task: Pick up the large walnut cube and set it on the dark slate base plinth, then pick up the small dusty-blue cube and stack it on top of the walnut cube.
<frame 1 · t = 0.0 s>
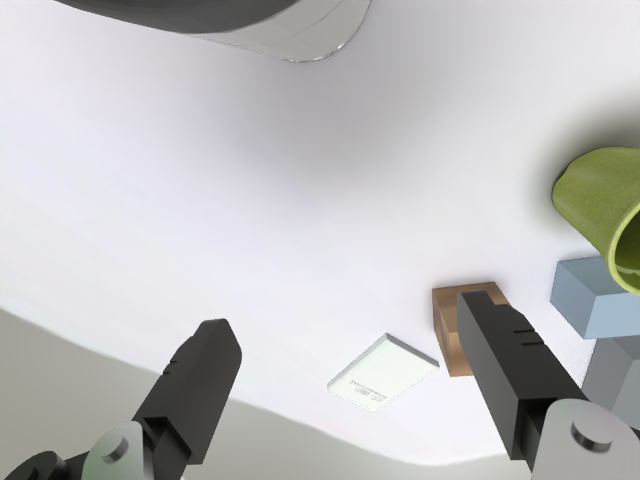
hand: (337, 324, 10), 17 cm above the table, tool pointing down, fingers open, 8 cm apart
external hard drive: (379, 368, 38), on the table
blue cube: (581, 278, 28), on the table
plant pot: (591, 182, 24), on the table
walnut cube: (462, 306, 31), on the table
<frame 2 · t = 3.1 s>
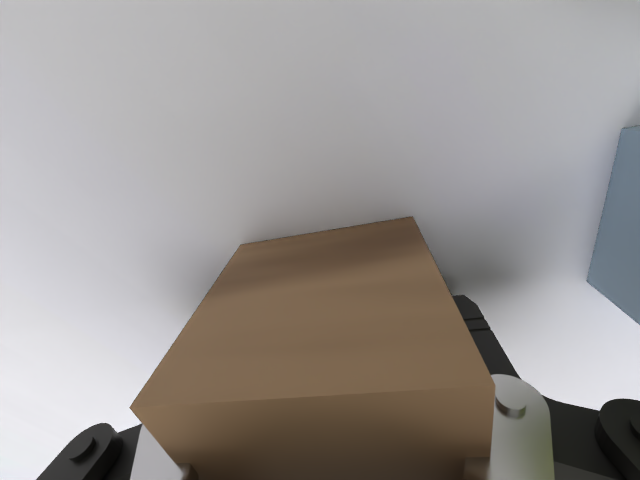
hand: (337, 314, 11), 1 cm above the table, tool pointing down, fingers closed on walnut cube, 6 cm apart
walnut cube: (338, 300, 11), on the table, touching gripper
when the fingers open (6 cm above the table, at t = 9.2 s): walnut cube drops 1 cm, resting on base plinth.
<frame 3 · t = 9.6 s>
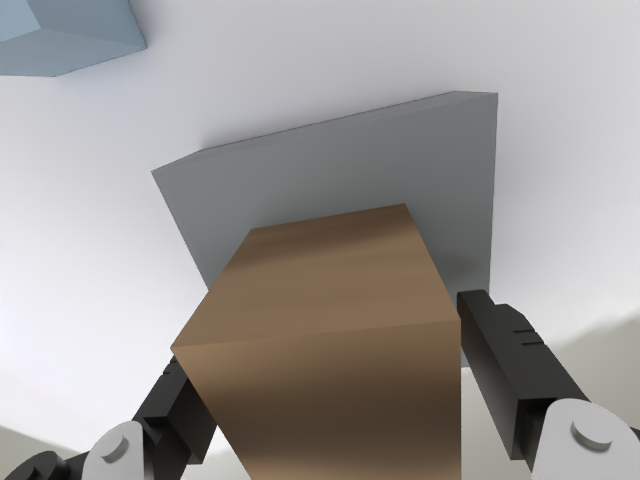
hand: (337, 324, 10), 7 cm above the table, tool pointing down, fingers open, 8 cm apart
base plinth: (341, 237, 16), on the table
walnut cube: (338, 280, 12), point 4 cm above the table, touching base plinth
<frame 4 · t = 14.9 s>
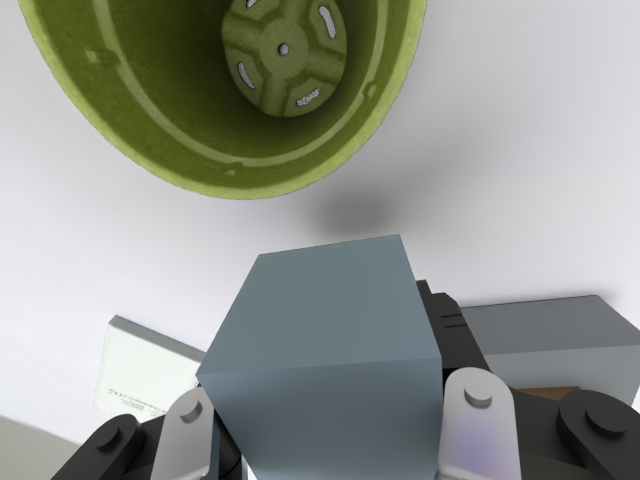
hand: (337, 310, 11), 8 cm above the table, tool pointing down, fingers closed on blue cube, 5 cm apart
base plinth: (490, 367, 22), on the table
external hard drive: (154, 370, 27), on the table
blue cube: (338, 300, 11), point 7 cm above the table, touching gripper
plant pot: (288, 50, 14), on the table
walnut cube: (517, 420, 18), point 4 cm above the table, touching base plinth
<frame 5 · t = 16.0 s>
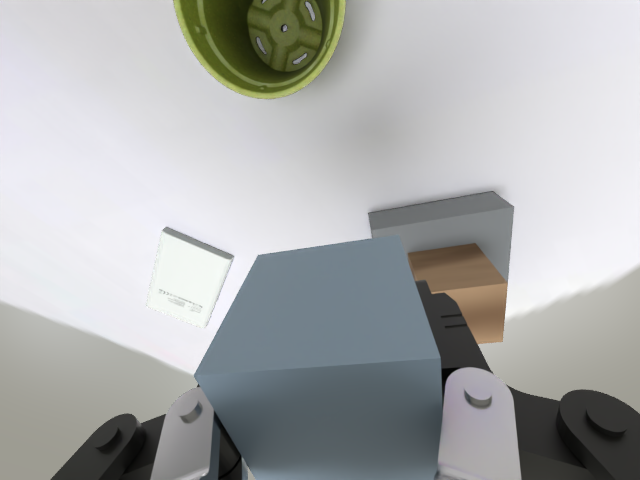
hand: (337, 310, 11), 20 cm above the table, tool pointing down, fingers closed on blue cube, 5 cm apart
base plinth: (431, 253, 32), on the table
external hard drive: (191, 276, 37), on the table
blue cube: (338, 301, 11), point 19 cm above the table, touching gripper
plant pot: (287, 28, 23), on the table
walnut cube: (441, 274, 28), point 4 cm above the table, touching base plinth
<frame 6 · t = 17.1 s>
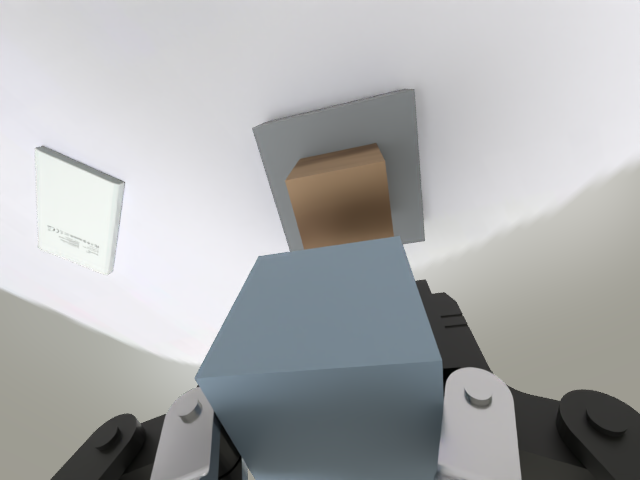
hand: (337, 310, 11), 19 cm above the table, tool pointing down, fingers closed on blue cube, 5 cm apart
base plinth: (344, 175, 27), on the table
external hard drive: (86, 212, 33), on the table
blue cube: (339, 302, 11), point 18 cm above the table, touching gripper
walnut cube: (344, 188, 24), point 4 cm above the table, touching base plinth
when the fingers open (12 cm above the table, at t = 18.7 s): blue cube drops 1 cm, resting on walnut cube.
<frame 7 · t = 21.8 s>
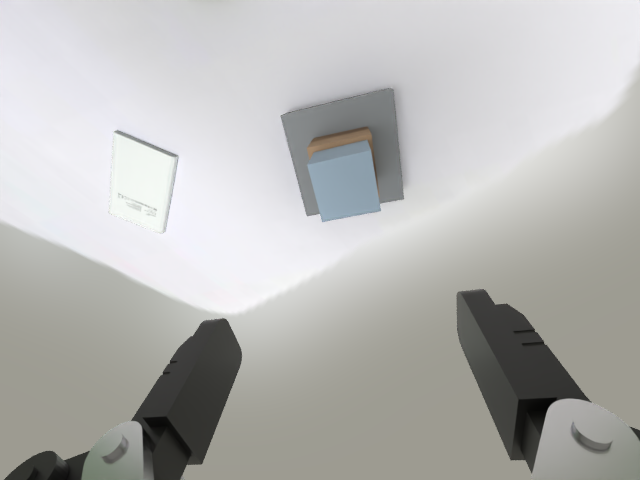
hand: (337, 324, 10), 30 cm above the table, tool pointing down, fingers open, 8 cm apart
base plinth: (345, 152, 37), on the table
external hard drive: (146, 183, 42), on the table
blue cube: (345, 172, 28), point 10 cm above the table, touching walnut cube
walnut cube: (344, 159, 33), point 4 cm above the table, touching base plinth, blue cube
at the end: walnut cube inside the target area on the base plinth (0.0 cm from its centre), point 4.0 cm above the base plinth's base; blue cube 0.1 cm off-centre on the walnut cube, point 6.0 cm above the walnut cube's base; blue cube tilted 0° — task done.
